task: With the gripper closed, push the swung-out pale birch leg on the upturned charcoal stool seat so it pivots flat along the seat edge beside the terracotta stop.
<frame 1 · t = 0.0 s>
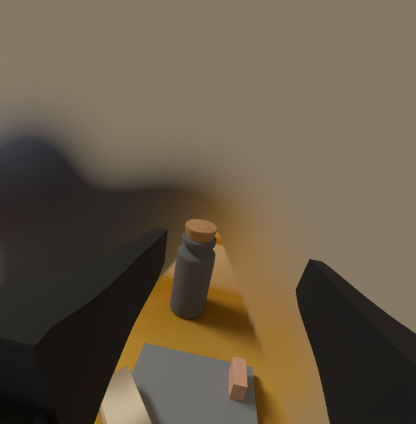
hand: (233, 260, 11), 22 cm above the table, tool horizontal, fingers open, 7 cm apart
leg stop: (235, 384, 25), resting on stool seat
bottle: (187, 306, 36), on the table
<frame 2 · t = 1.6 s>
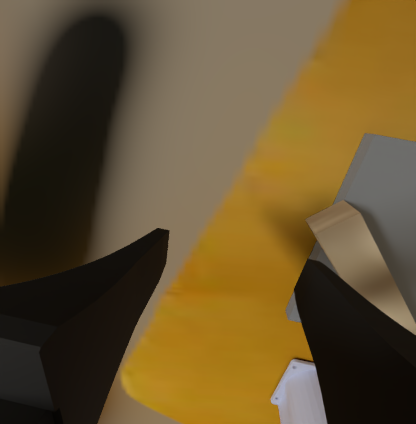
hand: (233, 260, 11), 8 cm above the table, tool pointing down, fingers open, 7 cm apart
stool seat: (396, 255, 19), on the table
stool leg: (371, 291, 17), point 3 cm above the table, hinge at 45.0°
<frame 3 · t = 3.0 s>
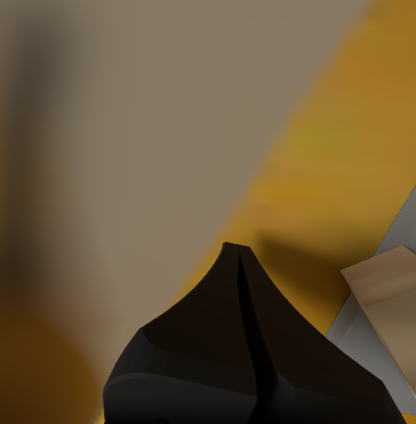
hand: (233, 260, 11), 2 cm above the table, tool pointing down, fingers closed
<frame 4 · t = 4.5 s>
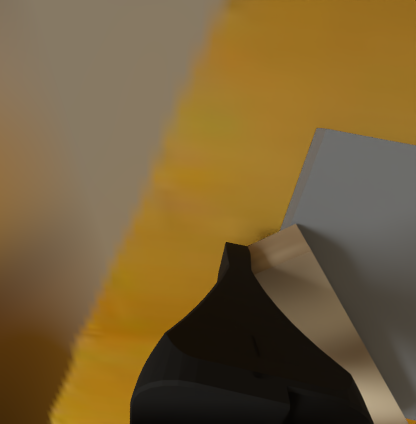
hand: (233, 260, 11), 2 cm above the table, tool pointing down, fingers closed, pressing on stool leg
stool seat: (373, 299, 13), on the table
stool leg: (337, 354, 12), point 3 cm above the table, hinge at 43.3°, touching gripper
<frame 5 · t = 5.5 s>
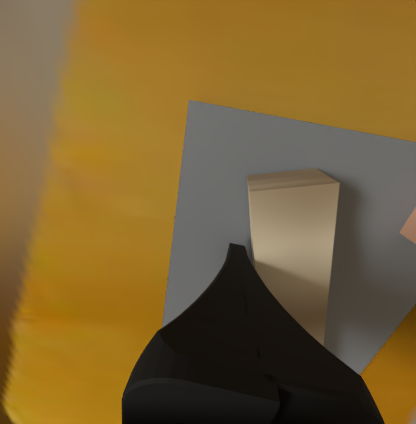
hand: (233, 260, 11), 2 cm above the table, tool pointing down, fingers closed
stool seat: (280, 277, 14), on the table
stool leg: (285, 321, 12), point 3 cm above the table, hinge at 17.8°, touching gripper
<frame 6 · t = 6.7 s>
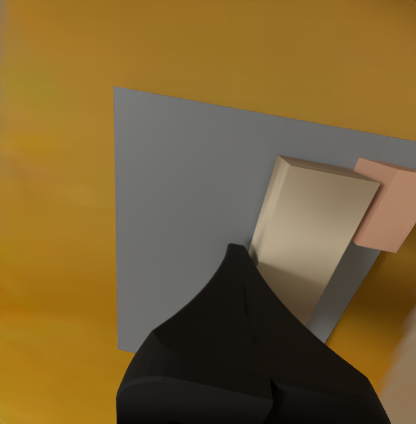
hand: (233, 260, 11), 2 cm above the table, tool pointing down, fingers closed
leg stop: (360, 193, 10), resting on stool seat
stool seat: (230, 266, 14), on the table
stool leg: (264, 312, 11), point 3 cm above the table, hinge at -0.2°, touching gripper
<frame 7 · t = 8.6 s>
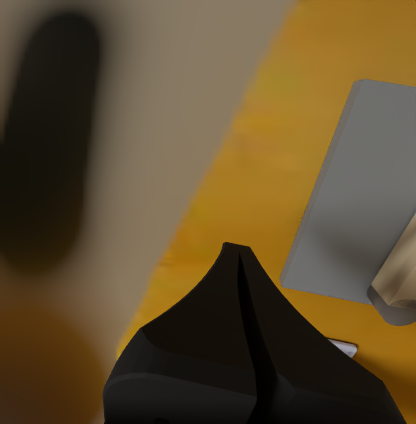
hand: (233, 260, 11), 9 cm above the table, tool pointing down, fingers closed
stool seat: (390, 214, 18), on the table
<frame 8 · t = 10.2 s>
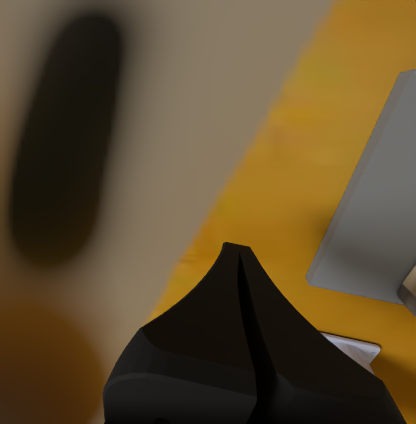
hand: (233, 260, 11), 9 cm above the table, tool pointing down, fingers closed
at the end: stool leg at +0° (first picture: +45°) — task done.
